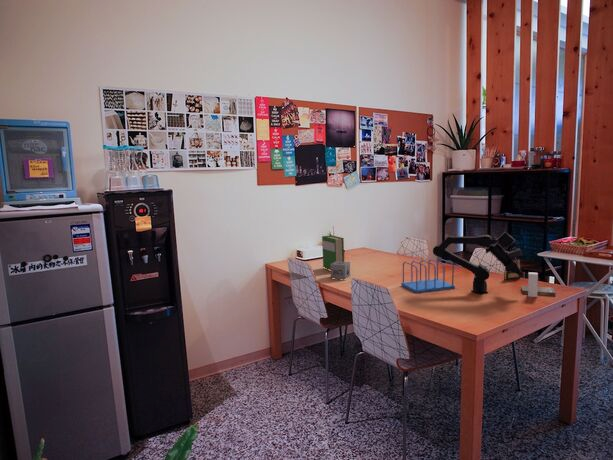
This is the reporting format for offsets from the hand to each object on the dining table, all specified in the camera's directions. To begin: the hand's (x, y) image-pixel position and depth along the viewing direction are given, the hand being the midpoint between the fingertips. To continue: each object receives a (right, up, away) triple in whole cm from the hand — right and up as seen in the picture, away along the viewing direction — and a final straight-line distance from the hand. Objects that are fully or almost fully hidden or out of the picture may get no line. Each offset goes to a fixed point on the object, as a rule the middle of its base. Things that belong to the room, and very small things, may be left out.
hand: (522, 275), depth 212 cm
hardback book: (-94, -5, +79) cm, 123 cm away
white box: (+7, -10, +3) cm, 12 cm away
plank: (+11, -10, +5) cm, 15 cm away
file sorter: (-43, -10, +25) cm, 50 cm away
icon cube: (-91, -8, +55) cm, 106 cm away
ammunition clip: (+12, -6, +35) cm, 37 cm away
